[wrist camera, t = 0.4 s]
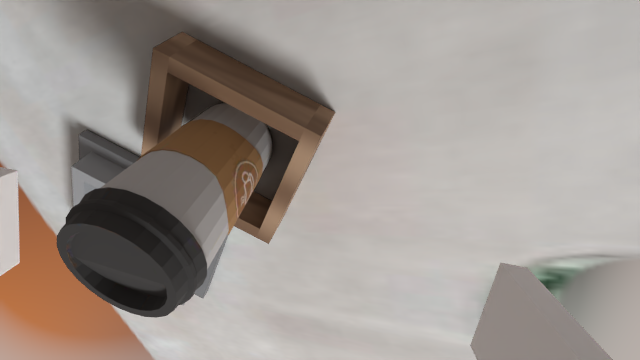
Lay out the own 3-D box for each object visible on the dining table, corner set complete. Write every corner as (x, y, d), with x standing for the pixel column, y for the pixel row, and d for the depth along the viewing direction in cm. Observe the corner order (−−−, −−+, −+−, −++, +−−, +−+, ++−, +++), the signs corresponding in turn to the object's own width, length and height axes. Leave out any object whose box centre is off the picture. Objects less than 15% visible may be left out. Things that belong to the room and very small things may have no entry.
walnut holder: (182, 31, 29) (153, 48, 27) (335, 112, 30) (321, 136, 27) (162, 154, 37) (138, 176, 35) (283, 217, 38) (268, 243, 35)
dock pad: (86, 129, 39) (57, 149, 36) (238, 208, 39) (220, 233, 36) (87, 230, 49) (65, 251, 46) (207, 291, 49) (191, 316, 46)
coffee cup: (286, 186, 35) (195, 339, 24) (199, 165, 37) (75, 299, 26) (287, 99, 30) (172, 240, 19) (186, 78, 32) (23, 197, 20)
